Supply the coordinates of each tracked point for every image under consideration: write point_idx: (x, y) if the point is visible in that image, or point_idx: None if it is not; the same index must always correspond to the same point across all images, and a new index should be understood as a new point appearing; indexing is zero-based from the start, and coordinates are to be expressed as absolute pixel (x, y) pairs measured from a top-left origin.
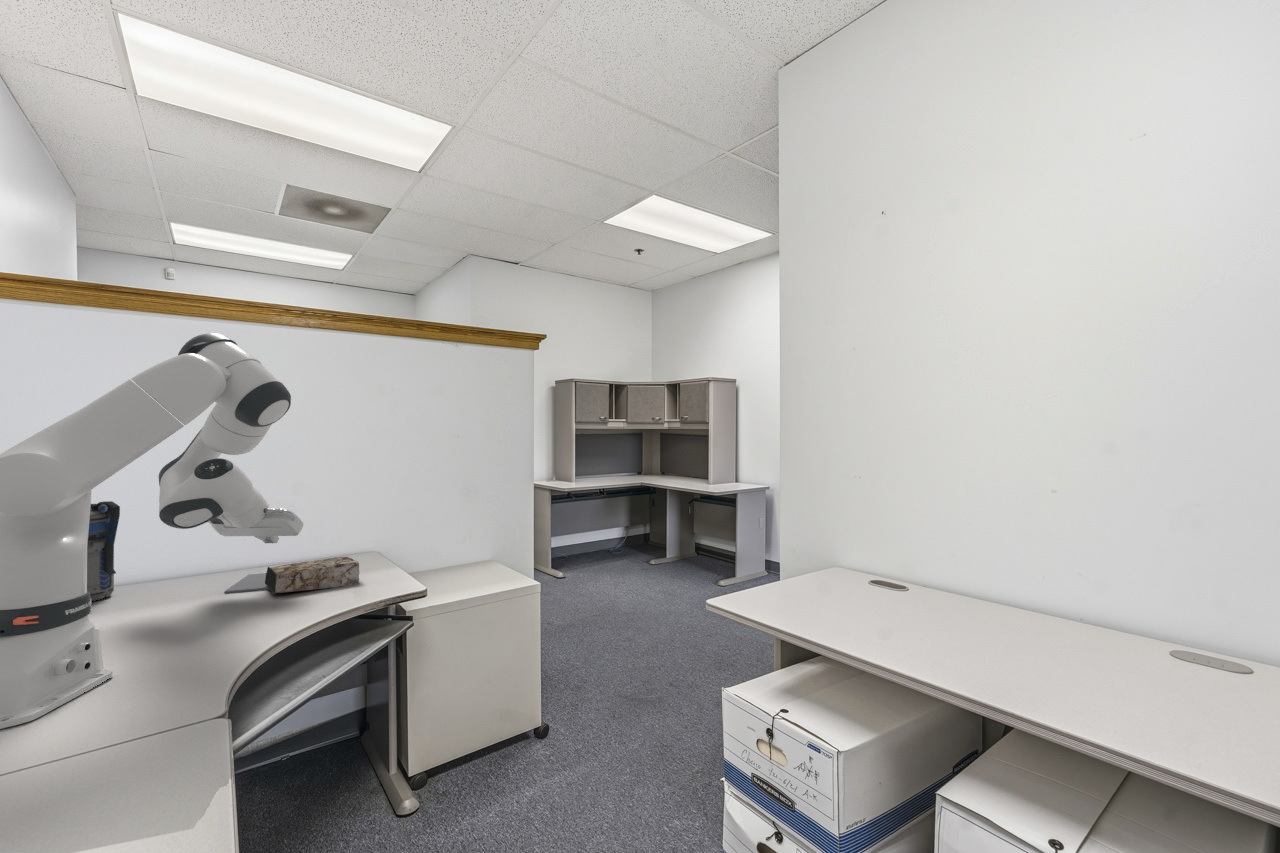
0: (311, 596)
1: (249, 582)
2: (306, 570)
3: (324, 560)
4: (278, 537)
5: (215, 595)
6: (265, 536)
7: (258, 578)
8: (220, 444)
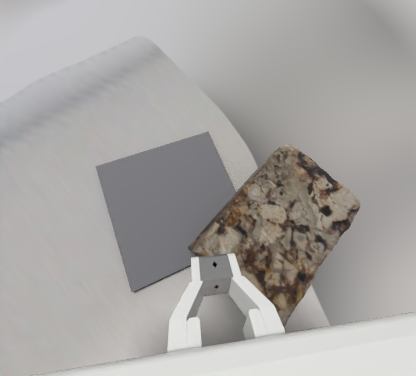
0: (309, 293)
1: (139, 225)
2: (311, 282)
3: (277, 184)
4: (235, 257)
5: (123, 304)
6: (200, 292)
7: (136, 195)
8: None
